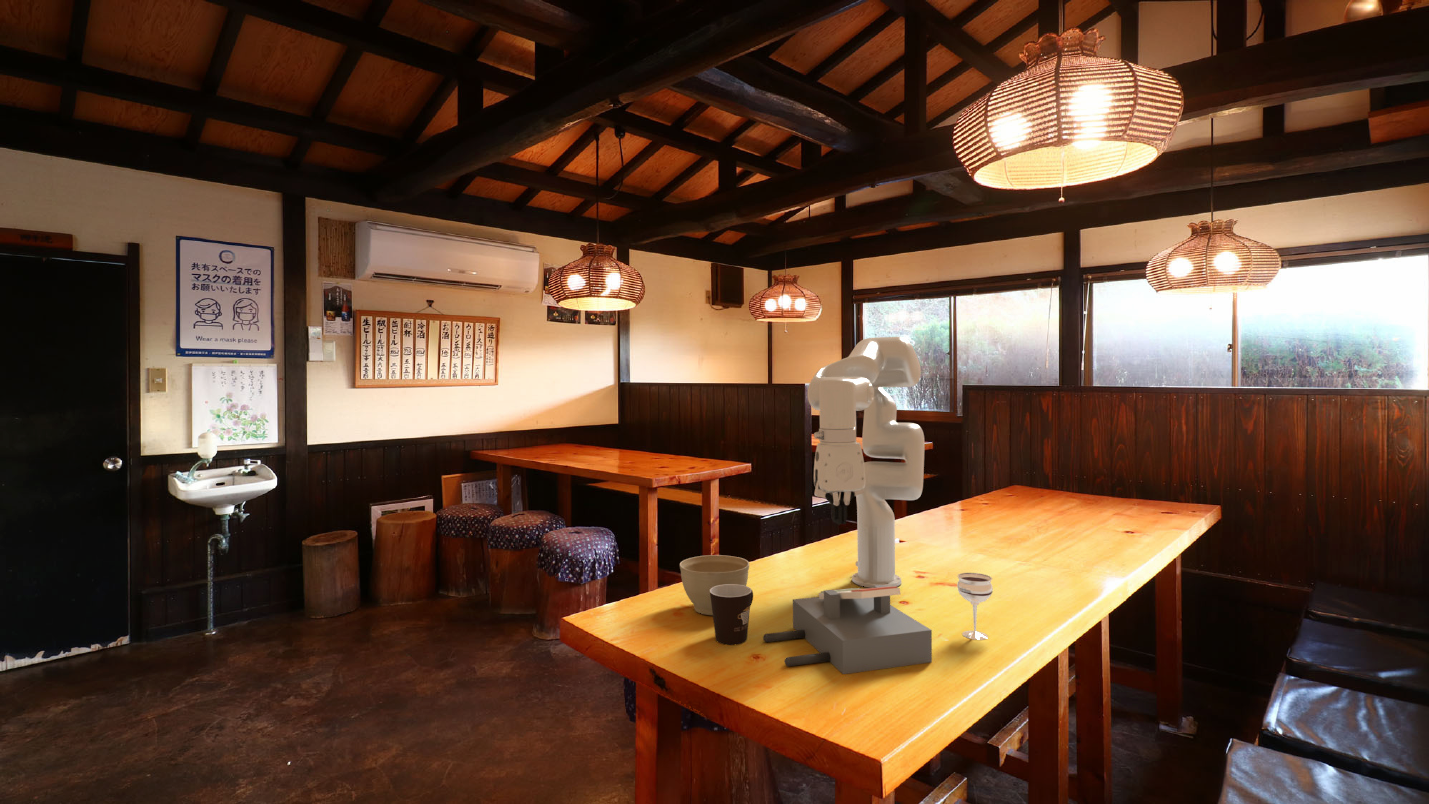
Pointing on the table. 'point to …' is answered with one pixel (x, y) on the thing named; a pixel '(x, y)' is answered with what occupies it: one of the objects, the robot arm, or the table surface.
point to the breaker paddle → (865, 592)
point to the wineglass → (975, 596)
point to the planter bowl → (711, 577)
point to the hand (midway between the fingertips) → (839, 522)
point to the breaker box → (856, 633)
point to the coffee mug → (731, 612)
